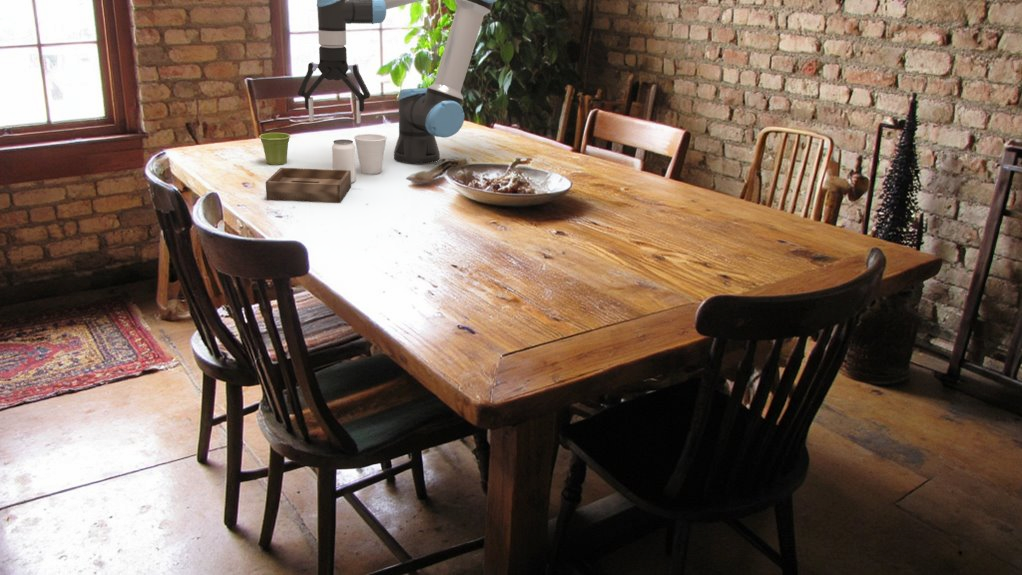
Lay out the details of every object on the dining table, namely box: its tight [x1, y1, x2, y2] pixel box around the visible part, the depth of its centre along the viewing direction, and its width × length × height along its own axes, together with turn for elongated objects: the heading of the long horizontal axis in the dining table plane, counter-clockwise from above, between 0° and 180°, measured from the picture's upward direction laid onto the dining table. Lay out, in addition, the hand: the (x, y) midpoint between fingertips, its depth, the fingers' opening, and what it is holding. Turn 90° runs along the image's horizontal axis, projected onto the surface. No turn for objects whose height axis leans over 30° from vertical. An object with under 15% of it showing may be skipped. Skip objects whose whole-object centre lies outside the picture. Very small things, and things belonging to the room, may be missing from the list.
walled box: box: [265, 167, 352, 204], centre depth 236 cm, size 20×16×5 cm
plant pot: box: [258, 132, 291, 166], centre depth 265 cm, size 9×9×9 cm
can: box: [331, 139, 356, 184], centre depth 247 cm, size 6×6×12 cm
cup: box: [353, 133, 388, 176], centre depth 259 cm, size 10×10×11 cm
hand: (335, 121), depth 244 cm, fingers open, 13 cm apart
